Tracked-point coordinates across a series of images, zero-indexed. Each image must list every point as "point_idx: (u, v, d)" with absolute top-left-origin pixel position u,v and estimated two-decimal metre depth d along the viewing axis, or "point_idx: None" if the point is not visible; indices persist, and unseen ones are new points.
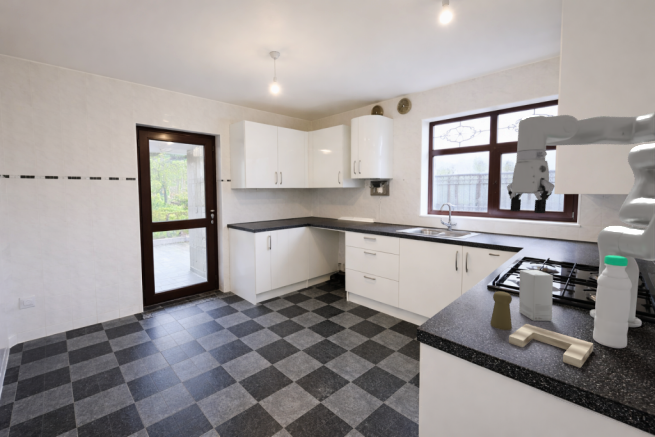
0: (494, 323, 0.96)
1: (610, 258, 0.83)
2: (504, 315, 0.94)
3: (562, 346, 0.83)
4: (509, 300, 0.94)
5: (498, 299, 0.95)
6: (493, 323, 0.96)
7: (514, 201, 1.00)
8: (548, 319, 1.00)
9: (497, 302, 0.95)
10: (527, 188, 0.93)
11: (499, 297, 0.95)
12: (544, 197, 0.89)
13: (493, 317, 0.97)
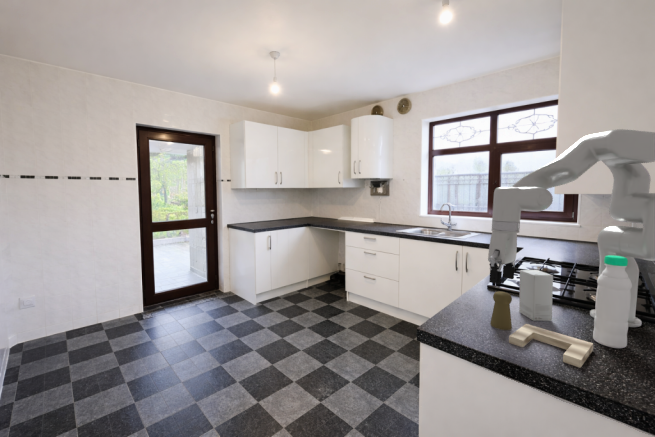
0: (494, 323, 0.96)
1: (610, 258, 0.83)
2: (504, 315, 0.94)
3: (562, 346, 0.83)
4: (509, 300, 0.94)
5: (498, 299, 0.95)
6: (493, 323, 0.96)
7: None
8: (548, 319, 1.00)
9: (497, 302, 0.95)
10: (513, 258, 0.95)
11: (499, 297, 0.95)
12: None
13: (493, 317, 0.97)
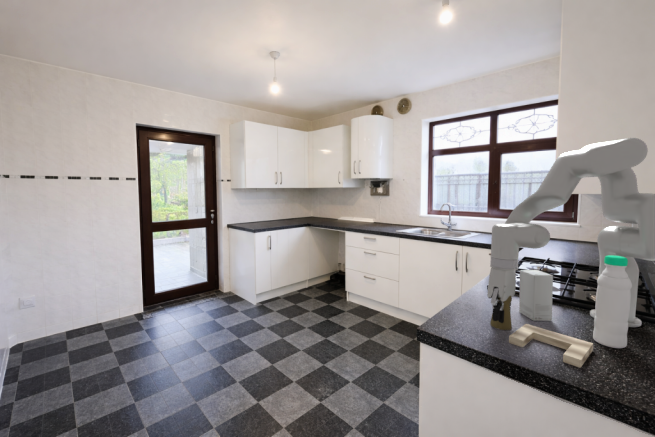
0: (494, 323, 0.96)
1: (610, 258, 0.83)
2: (504, 315, 0.94)
3: (562, 346, 0.83)
4: (509, 300, 0.94)
5: None
6: (493, 323, 0.96)
7: None
8: (548, 319, 1.00)
9: None
10: (512, 293, 0.96)
11: None
12: None
13: None
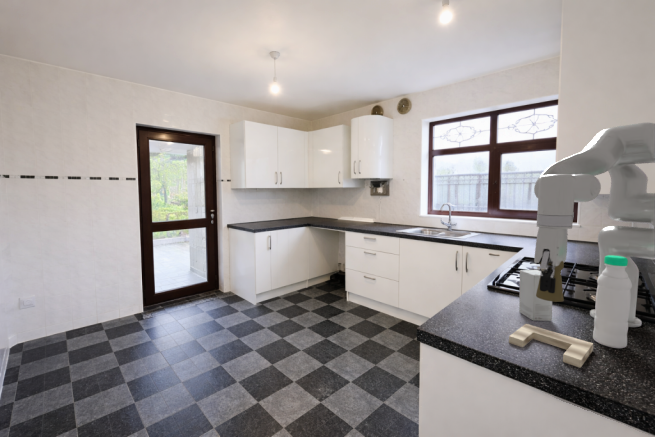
0: (542, 294, 0.80)
1: (610, 258, 0.83)
2: (555, 284, 0.78)
3: (562, 346, 0.83)
4: (561, 265, 0.78)
5: None
6: (540, 294, 0.80)
7: None
8: (548, 319, 1.00)
9: None
10: (564, 258, 0.80)
11: None
12: None
13: None
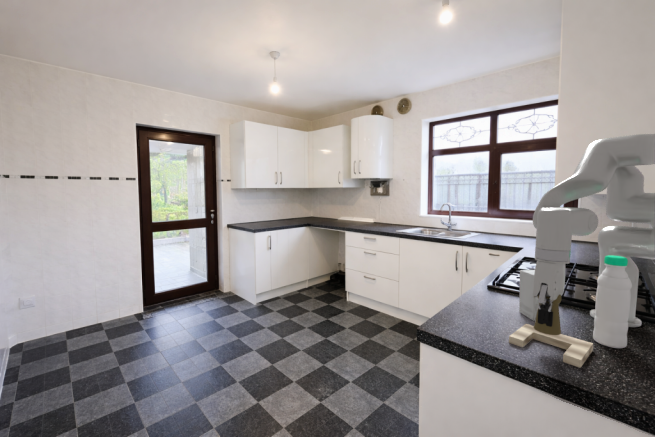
0: (540, 327, 0.81)
1: (610, 258, 0.83)
2: (553, 317, 0.79)
3: (562, 346, 0.83)
4: (559, 299, 0.79)
5: None
6: (538, 327, 0.81)
7: None
8: None
9: None
10: (561, 291, 0.80)
11: None
12: None
13: None
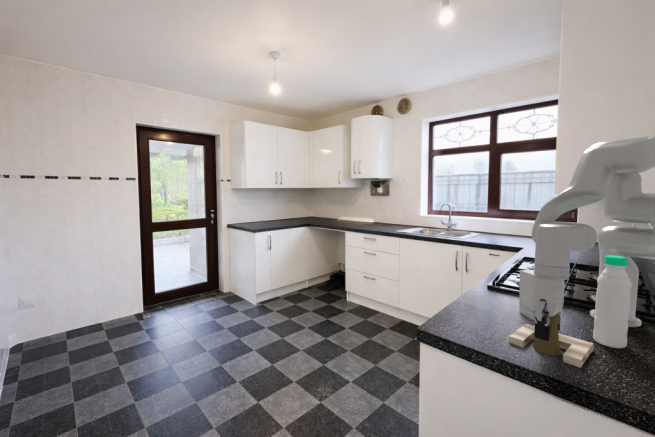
0: (539, 347, 0.81)
1: (610, 258, 0.83)
2: (552, 338, 0.80)
3: (562, 346, 0.83)
4: (558, 320, 0.79)
5: (545, 319, 0.80)
6: (538, 347, 0.82)
7: None
8: None
9: None
10: (561, 307, 0.81)
11: None
12: None
13: (537, 340, 0.82)
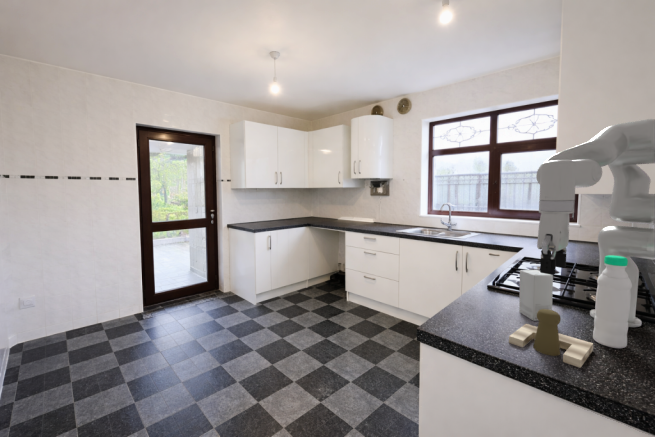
0: (539, 347, 0.81)
1: (610, 258, 0.83)
2: (552, 338, 0.80)
3: (562, 346, 0.83)
4: (558, 320, 0.79)
5: (545, 319, 0.80)
6: (538, 347, 0.82)
7: None
8: None
9: (543, 322, 0.81)
10: (566, 243, 0.81)
11: (545, 316, 0.80)
12: None
13: (537, 340, 0.82)
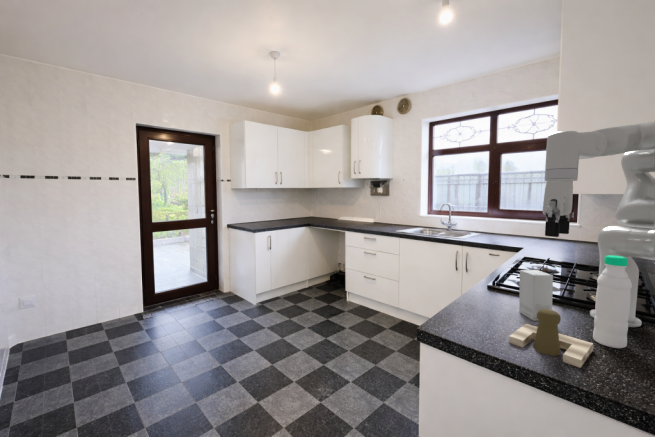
0: (539, 347, 0.81)
1: (610, 258, 0.83)
2: (552, 338, 0.80)
3: (562, 346, 0.83)
4: (558, 320, 0.79)
5: (545, 319, 0.80)
6: (538, 347, 0.82)
7: None
8: None
9: (543, 322, 0.81)
10: (569, 209, 0.87)
11: (545, 316, 0.80)
12: None
13: (537, 340, 0.82)
